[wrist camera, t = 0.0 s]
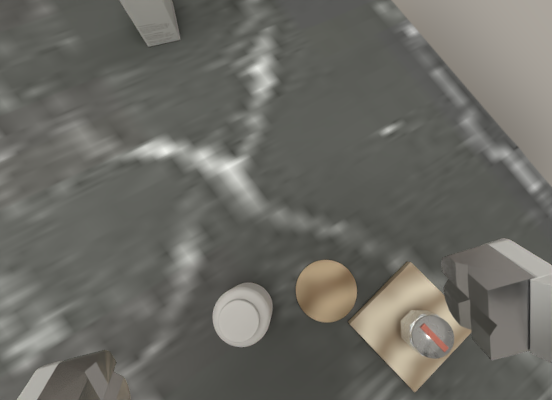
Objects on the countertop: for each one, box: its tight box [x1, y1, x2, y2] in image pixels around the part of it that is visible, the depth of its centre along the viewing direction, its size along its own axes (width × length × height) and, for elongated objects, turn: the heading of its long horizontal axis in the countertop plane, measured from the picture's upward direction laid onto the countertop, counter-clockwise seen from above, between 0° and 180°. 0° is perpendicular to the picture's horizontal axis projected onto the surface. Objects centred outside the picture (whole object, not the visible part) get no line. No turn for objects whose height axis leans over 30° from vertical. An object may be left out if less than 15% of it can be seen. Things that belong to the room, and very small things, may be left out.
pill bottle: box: [213, 283, 273, 347], centre depth 54 cm, size 8×8×15 cm
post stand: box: [348, 262, 472, 392], centre depth 57 cm, size 14×14×9 cm
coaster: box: [296, 260, 357, 322], centre depth 62 cm, size 10×10×1 cm
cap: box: [401, 310, 454, 359], centre depth 53 cm, size 6×6×6 cm
